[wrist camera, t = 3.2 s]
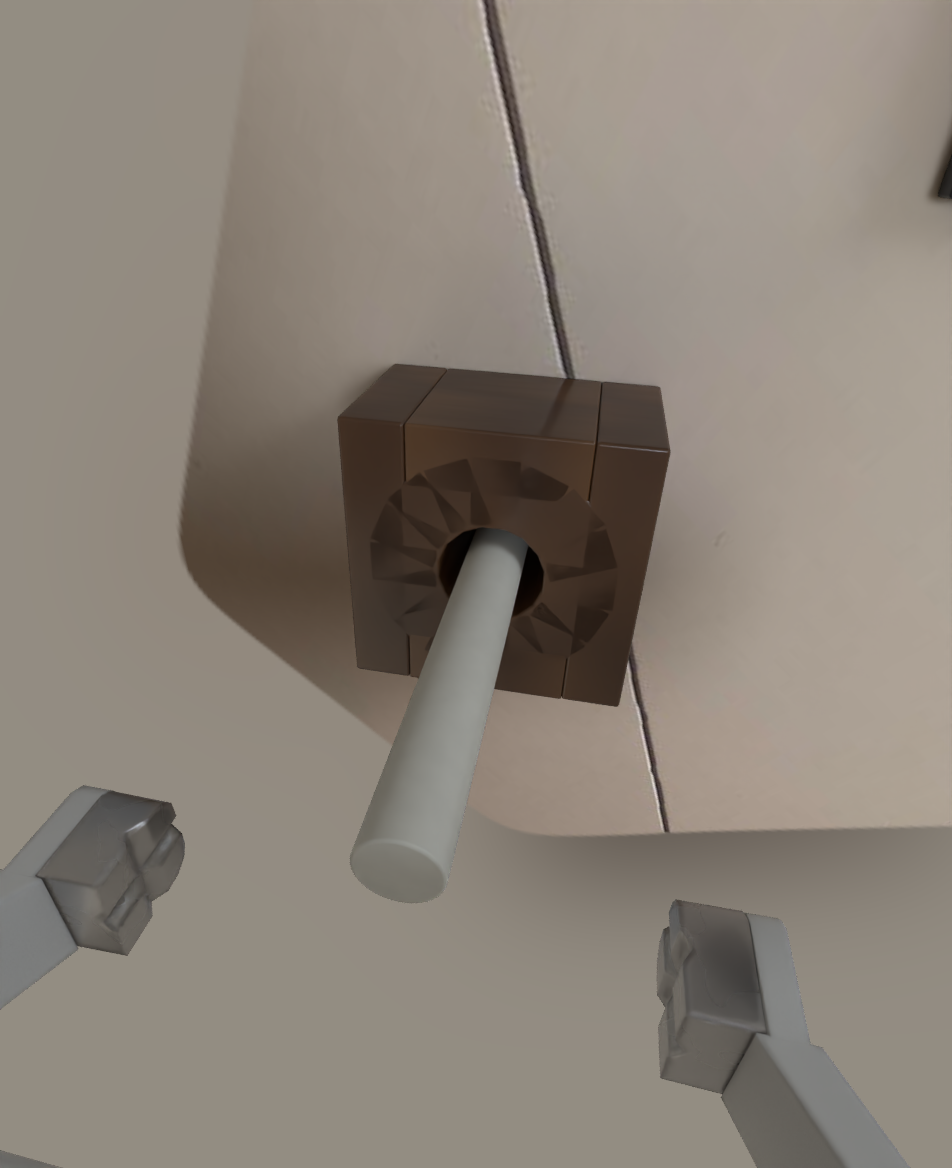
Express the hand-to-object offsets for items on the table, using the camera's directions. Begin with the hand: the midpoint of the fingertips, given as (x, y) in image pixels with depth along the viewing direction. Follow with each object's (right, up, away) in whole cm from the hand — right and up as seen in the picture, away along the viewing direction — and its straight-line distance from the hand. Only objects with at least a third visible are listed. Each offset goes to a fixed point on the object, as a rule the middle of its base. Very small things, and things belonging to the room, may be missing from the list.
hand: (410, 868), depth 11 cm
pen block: (+2, +7, +11) cm, 14 cm away
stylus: (+2, +7, +11) cm, 14 cm away
